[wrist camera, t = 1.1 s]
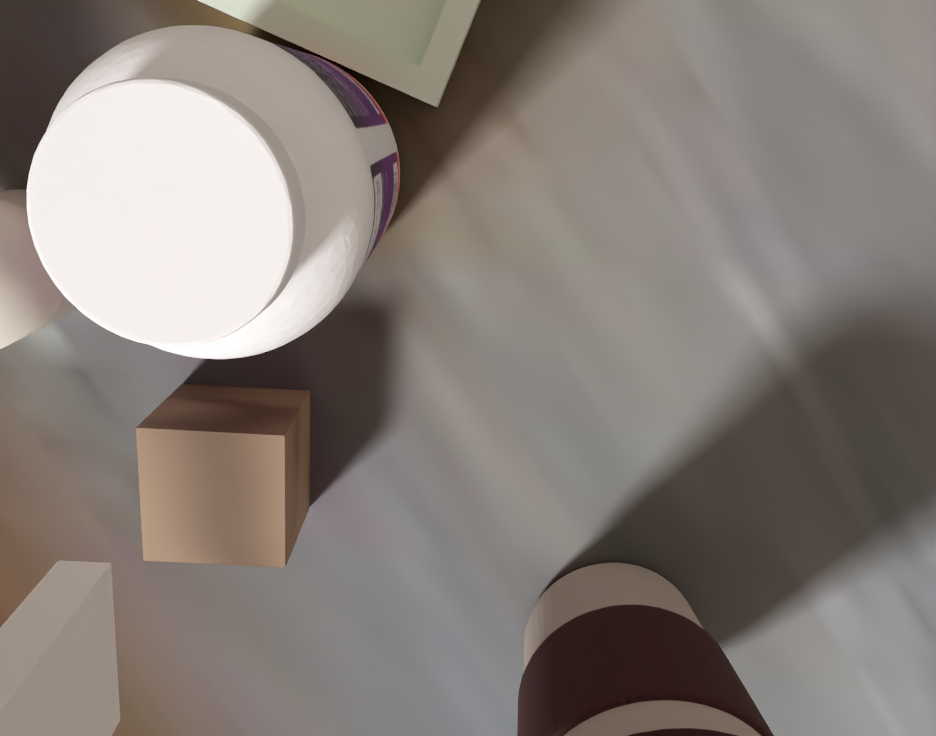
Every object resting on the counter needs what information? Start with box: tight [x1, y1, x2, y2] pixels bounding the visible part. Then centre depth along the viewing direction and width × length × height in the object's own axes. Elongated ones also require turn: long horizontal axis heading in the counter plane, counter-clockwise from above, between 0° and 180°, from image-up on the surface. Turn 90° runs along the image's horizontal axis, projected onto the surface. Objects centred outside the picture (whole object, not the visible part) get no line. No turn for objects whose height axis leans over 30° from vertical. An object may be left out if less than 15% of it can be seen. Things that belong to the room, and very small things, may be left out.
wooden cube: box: [136, 384, 310, 568], centre depth 32 cm, size 5×5×5 cm
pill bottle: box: [26, 25, 400, 359], centre depth 25 cm, size 8×8×14 cm
